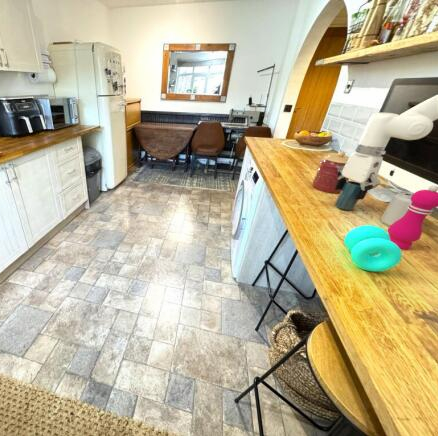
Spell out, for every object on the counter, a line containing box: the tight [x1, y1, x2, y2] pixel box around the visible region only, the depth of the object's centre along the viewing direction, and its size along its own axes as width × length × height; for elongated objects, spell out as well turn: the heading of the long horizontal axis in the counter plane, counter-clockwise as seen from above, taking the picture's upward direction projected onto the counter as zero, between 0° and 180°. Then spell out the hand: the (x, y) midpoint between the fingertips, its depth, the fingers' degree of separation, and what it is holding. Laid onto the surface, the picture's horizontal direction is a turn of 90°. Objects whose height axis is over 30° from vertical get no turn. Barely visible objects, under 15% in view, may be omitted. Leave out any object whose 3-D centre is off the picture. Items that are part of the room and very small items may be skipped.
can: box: [380, 190, 415, 228], centre depth 84 cm, size 8×8×12 cm
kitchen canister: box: [311, 151, 350, 194], centre depth 111 cm, size 13×13×18 cm
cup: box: [333, 180, 366, 211], centre depth 95 cm, size 6×6×10 cm
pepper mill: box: [387, 185, 438, 251], centre depth 71 cm, size 7×7×20 cm
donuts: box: [343, 224, 403, 273], centre depth 66 cm, size 10×10×10 cm
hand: (348, 193), depth 94 cm, fingers open, 9 cm apart
